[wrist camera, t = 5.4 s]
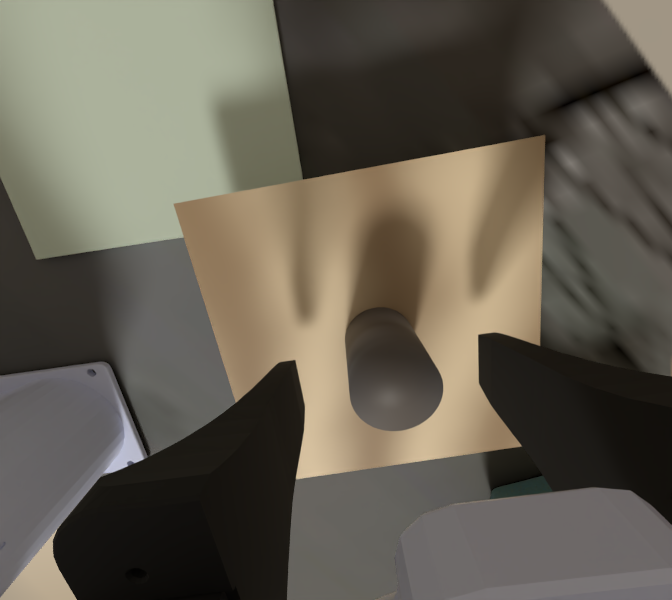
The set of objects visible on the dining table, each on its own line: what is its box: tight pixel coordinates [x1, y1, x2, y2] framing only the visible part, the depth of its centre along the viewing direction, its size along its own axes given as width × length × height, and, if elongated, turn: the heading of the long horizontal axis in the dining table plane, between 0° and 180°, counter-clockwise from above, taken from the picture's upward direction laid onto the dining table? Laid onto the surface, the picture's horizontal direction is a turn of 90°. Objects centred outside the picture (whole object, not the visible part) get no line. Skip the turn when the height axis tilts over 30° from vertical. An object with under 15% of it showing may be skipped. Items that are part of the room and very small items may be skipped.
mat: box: [0, 0, 303, 260], centre depth 15 cm, size 15×15×1 cm
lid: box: [174, 135, 545, 479], centre depth 13 cm, size 14×14×5 cm
